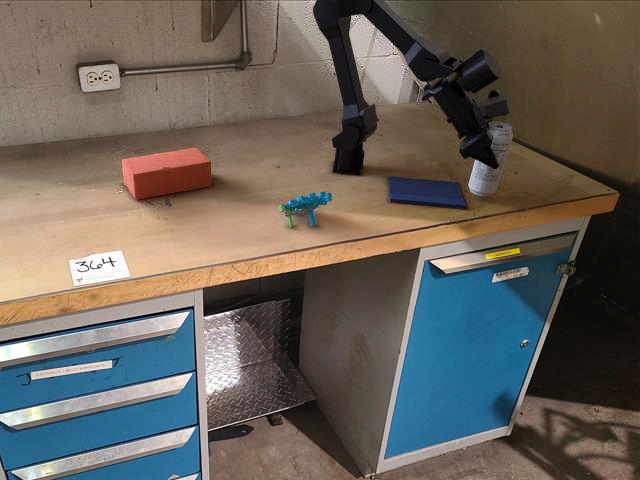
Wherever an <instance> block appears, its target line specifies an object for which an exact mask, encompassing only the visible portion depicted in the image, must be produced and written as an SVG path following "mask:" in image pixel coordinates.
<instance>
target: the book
mask: <svg viewBox="0 0 640 480" xmlns="http://www.w3.org/2000/svg"><path fill="white" fill-rule="evenodd" d="M388 189H389V201H390V202H389V203H396V204H407V205H417V206H419V205H420V206H427V207H429V206H430V207H438V208H439V207H440V208H450V209H462V210H466V207H467V204H466V201H465V199H464V197H463V194H462V190H461V187H460V184H459V182H457V181H446V180H436V179H424V178H414V177H403V176H401V177H400V176H391V175H390V176H388Z"/></svg>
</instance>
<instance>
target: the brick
mask: <svg viewBox="0 0 640 480" xmlns="http://www.w3.org/2000/svg"><path fill="white" fill-rule="evenodd" d="M121 165H122V166H121V168H122V176H123V178H122V179H123V185H124V186H126V188H127V189H128V191H129V193H130V194H131V195H132V197H133V198H134V199H135V200H136V201H138V200H143V199H148V198H154V197H159V196H166V195H171V194H175V193H180V192H186V191H192V190H197V189H203V188H208V187H210V186H211V185H212V161H211V160H210V158H209V157H207V156H206V155H205V154H204V153H203V152H201V151H200V150H199V148H198V147H190V148H184V149H179V150H173V151H167V152H166V151H165V152H160V153H159V152H158V153H154V154H147V155H146V154H145V155H142V156H141V155H140V156H134V157H128V158H124V159H121Z"/></svg>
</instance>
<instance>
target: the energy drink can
mask: <svg viewBox="0 0 640 480" xmlns="http://www.w3.org/2000/svg"><path fill="white" fill-rule="evenodd" d="M513 128H514V126H513V125H512V124H510V123H508V122H504V121H496V120H494V121H493V120H492V122H489V124H488V126H487V127H486V128H485V129H488V130H489V132H490V134H491V135H493V142H492V144H491V148H492V150H493V152H494V154H495V157H496V159H497V161H498V164H499V167H498V168H497V169H493V168H491V167H489V166H487V165H485V164H483V163H481V162H479V161H477V160H475V159H474V162H473V166H472V170H471V174H470V177H469V181H468V185H467V186H468V188H469V191H470V193H472V194H474V195H475V196H479V197H490V196H492V195H493V194H494V193H496V192H497V189H498V187H499V183H500V180H501V178H502V174H503V172H504V171H503V170H504V167H505V164H506V161H507V159H508V155H509V151H510V149H511V145H512V141H513V139H514V133H513Z"/></svg>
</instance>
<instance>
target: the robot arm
mask: <svg viewBox="0 0 640 480" xmlns="http://www.w3.org/2000/svg"><path fill="white" fill-rule="evenodd" d="M312 6H313V7H312V15H313V17H314V20H315V22H316V25H317V27H318V29H319V31H320V33H321V34H322V35H323V36H324V38H325V39H326V40H327V43H328V46H329V52H330V55H331V59H332V63H333V67H334V71H335V75H336V80H337V84H338V88H339V93H340V96H341V100H342V105H343V107H342V113H341V114H342V115H341V129H342V130H341V131H340V132H339V133H337V134H336V135H335V136H333V137H332V138H331V143H332V147H333V149H335V151H334V152H335V153H334V160H333V163H332V164H333V165H332V173H336V174H347V175H358V176H359V175H361V171H362V170H363V169H364V161H365V154H366V153H365V152H366V151H365V149H364V143H366V141H367V140H368V139H369V138H370V137H371V136H373V135H374V134H375V132H376V131H377V129H378V122H379V121H380V119H379V117H378V114H377V110H376V109H377V107H376V104H375V103H372V104H369V103H368V102H367V101H366V99H365V97H364V92H363V88H362V85H361V79H360V76H359V71H358V66H357V63H356V59H355V57H356V56H355V53H354V49H353V45H352V40H351V36H350V31H351V25H352V17H353V16H359V15H360V16H361V15H362V16H363V17H365V19H367V20H368V22H369V23H371V24H372V25H373V26H374V27H375V28H376V29H377V30H378V31H379V32H380V33H381V34H382V35H383V36H384V37H385V38H386V39H387V40H388V41H389V42H390V43H391V44H392V45H393V46H394V47H395V48H397V49H398V51H400V53H401V54H402V56H403V57H404V60H405V63H406V64H407V66H408V68H409V70H411V72H412V74H413V75H414V76H415V78H416V79H417V80H418V81H419V82H422V83H425V85H424V87H423V88H422V89H423V92H422V97H421V101H422V102H426V101H427V100H429V99H430V98H433V100H434V101H435V103H436V104H437V105H438V107H439V108H440V110H441V111H442V113H443V114H444V115H445V117H446V119H445V120H446V122H447V123H448V124H451V125H452V127H453V128H454V129H455V131H456V132H457V133H456V134H457V135H456V136H457V137H458V139H459V140H460V142H459V146H458V147H459V151H458V152H459V154H460V155H461V157H462V158H463V160H466V159H467V160H468V158H471V159H473V160H474V161H475V160H477V161H479V162H481V163H483V164H485V165H487V166H489V167H491V168H493V169H497V168H498V167H499V164H498V161H497V159H496V157H495V154H494V152H493V150H492V148H491V144H492V142H493V135H491V134H490V132H489V130H488V129H485V128H486V127H487V126H488V124H489V122H493V120H492V119H494V118H498V117H505V116H507V115H509V114H510V112H511V111H510V107H509V100H508V95H507V93H505V92H504V91H503V92H500V91H499V90H498V88H492V89H489V90H488V92H487V96H486V97H484V98H483V99H481V100H478V101H477V100H476V98H475V97H473V96H470V95H469V94H468V93H469V92H470V93H472V94H476V93H478V92H481V90H483V89H484V88H486V87H488V86H489V85H491V84H492V83H495V82H496V81H498V80H500V78H502V76H503V71H502V68H501V64H500V63H499V61H498V59H497V58H495V57H494V56H493V55H492V54H491V53H490V52H488V51H487V49H486V47H483V46H482V48H480V49H479V50H477V51H476V52H474V54H472V55H471V56H470V57H468V58H467V59H466V60H463V59H460V58H457V57H454V56H451V55H450V54H449V53H448V51H447V50H446V49H444V48H443V47H442V46H440V45H439V44H437V43H435V41H431V40H430V39H427V38H425V37H423V36H421V35H419V34H418V33H417V32H416V31H415V29H414V28H413V27H411V26H410V25H409V24H408V23H407V22H406V21H405V20H404V19H403V18H402V17H401V16H400V15H399V14H398V13H397V12H396V11H395V10H393V8H392V7H390V5H388V4H387V3H386V2H385V1H384V0H315V2H314V5H312ZM451 75H452V76H451ZM437 79H439V80H437ZM435 80H437V81H436V82H434V83H432V84H428V83H430V82H433V81H435Z"/></svg>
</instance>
